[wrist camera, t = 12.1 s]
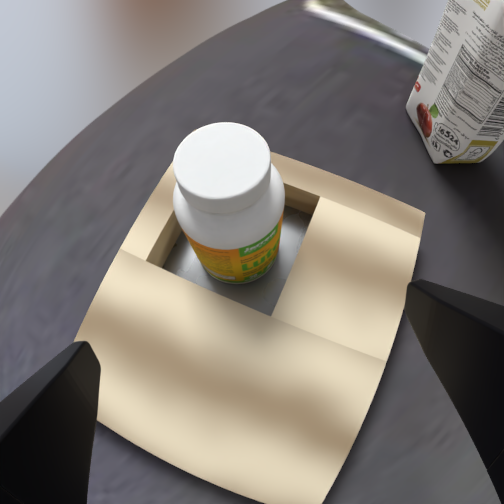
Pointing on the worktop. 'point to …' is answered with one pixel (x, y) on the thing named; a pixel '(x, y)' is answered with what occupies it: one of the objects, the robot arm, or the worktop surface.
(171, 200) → the socket board
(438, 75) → the juice carton
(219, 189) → the supplement bottle
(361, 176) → the worktop surface
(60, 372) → the robot arm
